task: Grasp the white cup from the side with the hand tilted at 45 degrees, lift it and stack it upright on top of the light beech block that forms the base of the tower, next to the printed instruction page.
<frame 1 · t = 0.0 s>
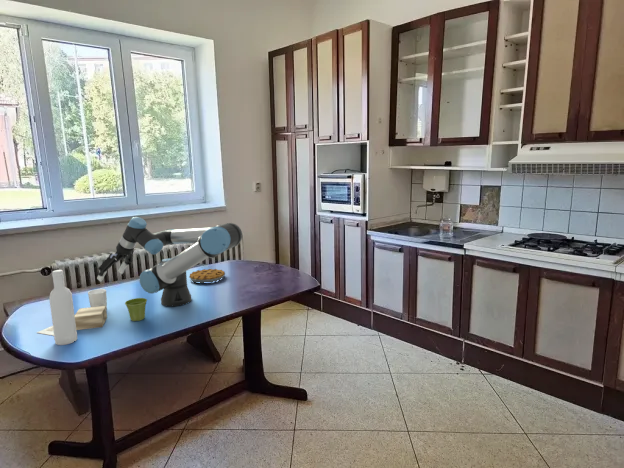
hand: (110, 276, 199), 15 cm above the table, tool tilted 35°, fingers open, 13 cm apart
bottle: (66, 341, 161), on the table
plant pot: (137, 319, 184), on the table
pie: (207, 280, 245), on the table
instruction page: (56, 330, 171), on the table
white cup: (99, 310, 194), on the table
beech block: (91, 323, 178), on the table
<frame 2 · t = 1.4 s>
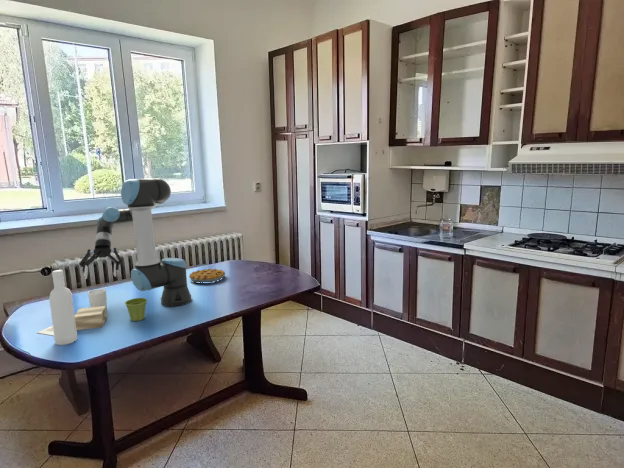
hand: (100, 276, 201), 15 cm above the table, tool tilted 45°, fingers open, 13 cm apart
nothing on the table moved.
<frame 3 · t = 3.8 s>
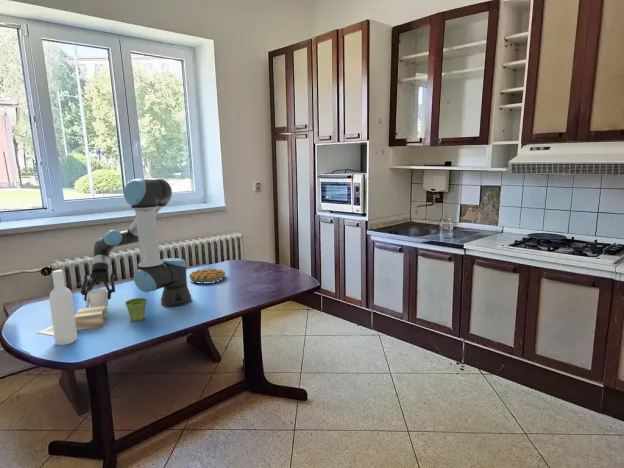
hand: (97, 305, 190), 4 cm above the table, tool tilted 45°, fingers closed on white cup, 8 cm apart
white cup: (99, 310, 194), on the table, touching gripper
everything else where it was.
when the fingers open (11 cm above the table, at t = 7.9 s): white cup drops 1 cm, resting on beech block.
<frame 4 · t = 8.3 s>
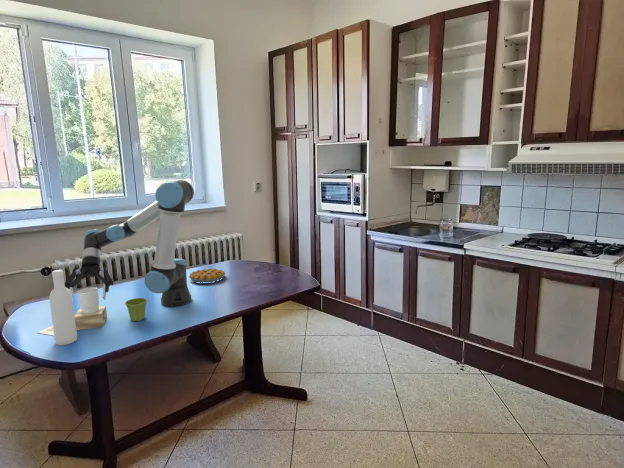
hand: (87, 300, 174), 12 cm above the table, tool tilted 45°, fingers open, 13 cm apart
white cup: (90, 311, 177), point 6 cm above the table, touching beech block
everything else where it was.
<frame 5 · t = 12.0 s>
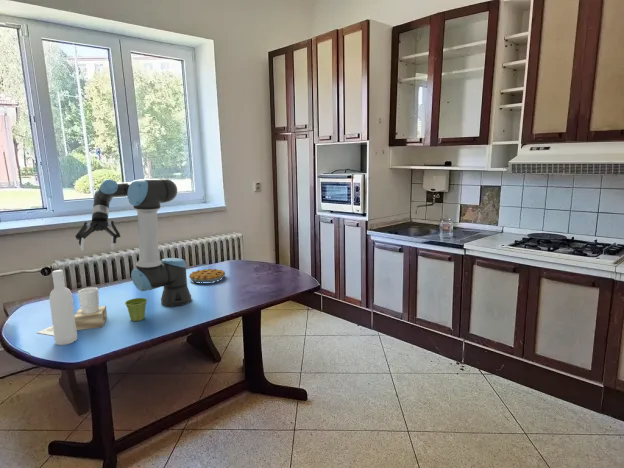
hand: (97, 249, 196), 30 cm above the table, tool tilted 45°, fingers open, 13 cm apart
nothing on the table moved.
at the end: white cup inside the target area on the beech block (0.3 cm from its centre), point 5.8 cm above the beech block's base; white cup tilted 0°; the gripper is holding nothing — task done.
